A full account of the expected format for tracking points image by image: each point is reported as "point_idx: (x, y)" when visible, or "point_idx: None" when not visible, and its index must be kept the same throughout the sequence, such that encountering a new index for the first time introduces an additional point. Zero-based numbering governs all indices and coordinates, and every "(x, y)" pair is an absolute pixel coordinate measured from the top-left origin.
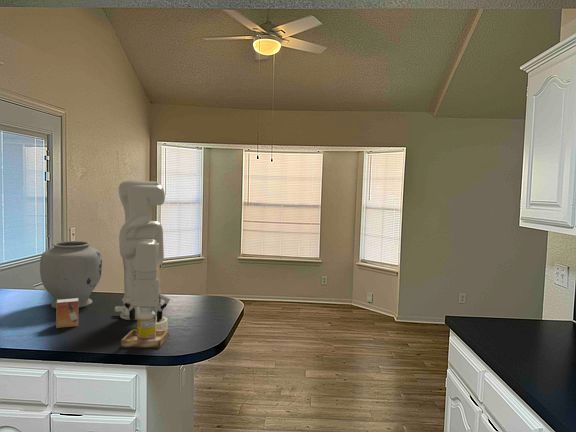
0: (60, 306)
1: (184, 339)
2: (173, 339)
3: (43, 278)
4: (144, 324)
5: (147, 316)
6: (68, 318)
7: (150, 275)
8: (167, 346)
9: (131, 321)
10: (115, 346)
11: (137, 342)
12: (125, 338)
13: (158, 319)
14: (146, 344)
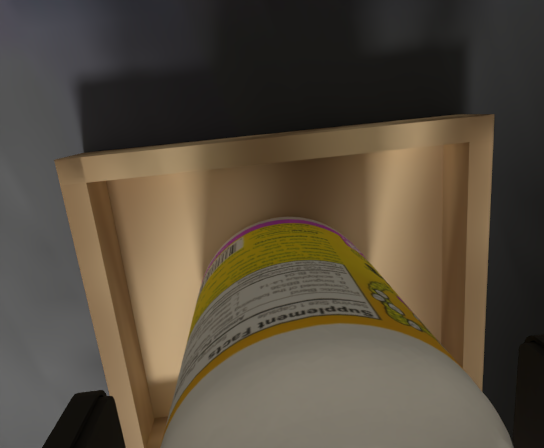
0: None
1: None
2: (63, 363)
3: None
4: (290, 284)
5: (250, 388)
6: None
7: None
8: (29, 192)
9: (535, 336)
10: (509, 122)
11: (310, 131)
12: (466, 185)
13: (62, 419)
14: (216, 141)
